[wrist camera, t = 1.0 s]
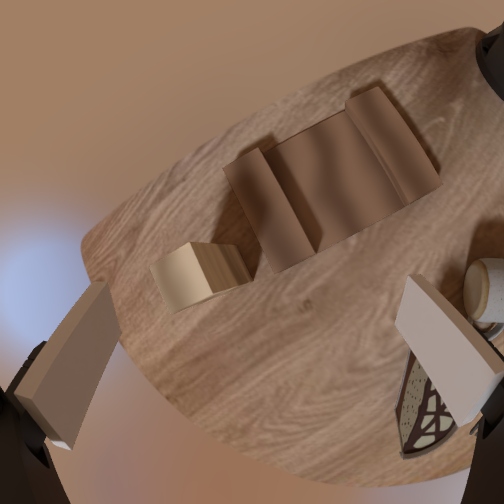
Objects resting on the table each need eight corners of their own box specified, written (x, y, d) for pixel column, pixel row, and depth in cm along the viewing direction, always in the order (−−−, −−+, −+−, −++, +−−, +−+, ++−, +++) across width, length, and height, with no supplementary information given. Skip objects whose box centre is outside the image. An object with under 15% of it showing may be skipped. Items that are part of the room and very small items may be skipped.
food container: (431, 417, 29) (450, 459, 19) (391, 418, 31) (401, 463, 21) (454, 334, 29) (487, 359, 19) (412, 333, 30) (435, 361, 21)
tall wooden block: (236, 244, 37) (189, 241, 25) (253, 281, 36) (212, 293, 25) (204, 262, 38) (149, 266, 27) (220, 297, 38) (170, 314, 26)
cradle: (376, 97, 31) (378, 86, 29) (435, 189, 30) (443, 184, 27) (231, 174, 37) (222, 168, 34) (279, 272, 35) (274, 274, 32)
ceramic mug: (461, 256, 29) (489, 258, 21) (509, 257, 26) (541, 260, 19) (452, 340, 29) (475, 361, 22) (500, 337, 26) (527, 354, 19)
